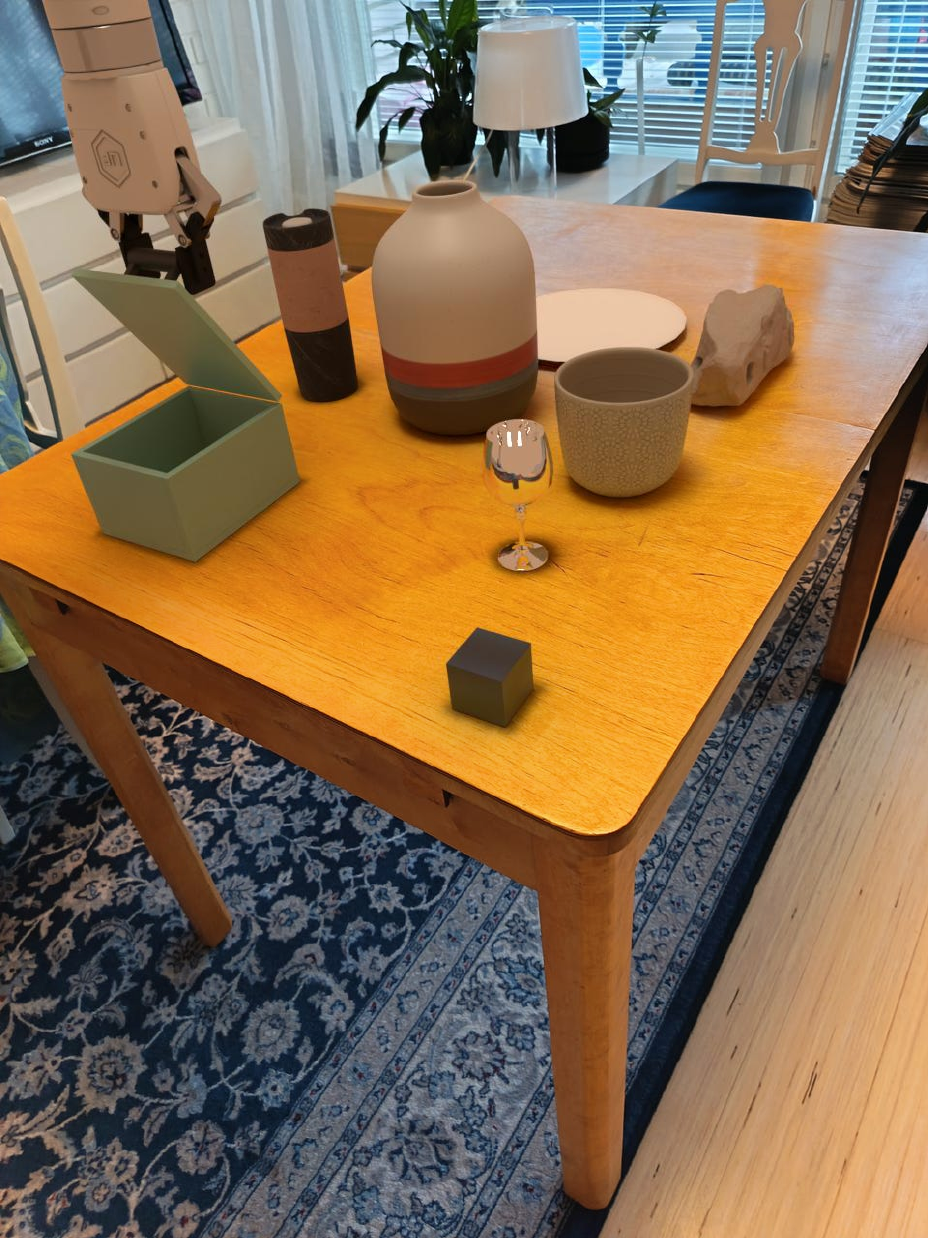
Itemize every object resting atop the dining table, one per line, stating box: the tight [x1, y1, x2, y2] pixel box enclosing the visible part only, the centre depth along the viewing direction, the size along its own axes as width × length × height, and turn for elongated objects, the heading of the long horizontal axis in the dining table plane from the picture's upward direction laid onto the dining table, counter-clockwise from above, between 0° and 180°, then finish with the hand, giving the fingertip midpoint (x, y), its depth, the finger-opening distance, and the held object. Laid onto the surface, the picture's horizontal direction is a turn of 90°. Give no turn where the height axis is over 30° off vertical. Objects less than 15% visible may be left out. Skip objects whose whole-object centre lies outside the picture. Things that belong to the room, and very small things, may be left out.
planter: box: [553, 347, 694, 498], centre depth 85 cm, size 12×12×11 cm
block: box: [445, 626, 534, 728], centre depth 64 cm, size 4×4×4 cm
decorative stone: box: [689, 284, 795, 407], centre depth 99 cm, size 20×8×10 cm, turn 145°
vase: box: [370, 179, 539, 436], centre depth 96 cm, size 17×17×24 cm
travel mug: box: [262, 207, 359, 403], centre depth 105 cm, size 8×8×20 cm
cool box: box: [70, 385, 301, 563], centre depth 89 cm, size 16×13×9 cm
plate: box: [536, 287, 688, 365], centre depth 117 cm, size 25×25×2 cm
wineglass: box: [481, 418, 554, 572], centre depth 76 cm, size 6×6×12 cm
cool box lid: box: [71, 247, 283, 403], centre depth 84 cm, size 16×13×5 cm
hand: (173, 284), depth 81 cm, fingers closed on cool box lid, 6 cm apart
